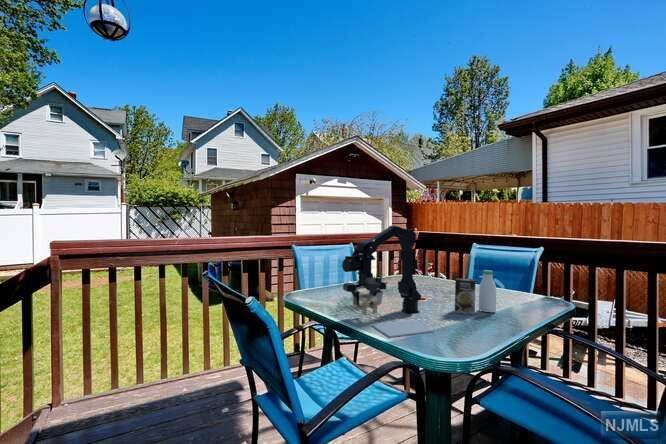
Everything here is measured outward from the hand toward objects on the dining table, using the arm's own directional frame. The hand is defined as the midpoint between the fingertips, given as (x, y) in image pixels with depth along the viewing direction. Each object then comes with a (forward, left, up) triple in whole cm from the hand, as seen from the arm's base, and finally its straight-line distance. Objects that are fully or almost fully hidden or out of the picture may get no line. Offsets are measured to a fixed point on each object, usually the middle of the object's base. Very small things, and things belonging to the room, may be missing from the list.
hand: (364, 305), depth 151 cm
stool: (0, 0, -2) cm, 2 cm away
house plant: (-18, -25, -7) cm, 32 cm away
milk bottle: (-63, +7, -7) cm, 64 cm away
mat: (-9, +16, -6) cm, 19 cm away
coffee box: (-51, +5, -7) cm, 52 cm away
